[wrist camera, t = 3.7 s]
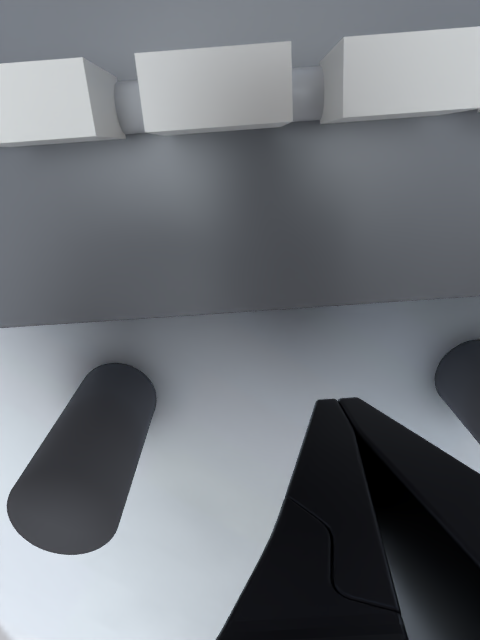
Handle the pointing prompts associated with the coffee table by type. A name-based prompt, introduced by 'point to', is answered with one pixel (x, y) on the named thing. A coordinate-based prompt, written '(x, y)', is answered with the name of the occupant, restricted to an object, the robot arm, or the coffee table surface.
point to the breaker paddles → (241, 88)
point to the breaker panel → (233, 179)
